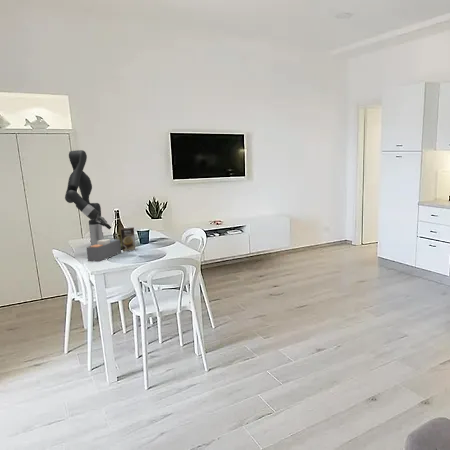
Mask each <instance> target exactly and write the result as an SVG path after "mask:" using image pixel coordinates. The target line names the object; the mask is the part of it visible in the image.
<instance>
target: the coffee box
mask: <svg viewBox="0 0 450 450" xmlns="http://www.w3.org/2000/svg"><path fill="white" fill-rule="evenodd" d="M120 234H121V249H122V252H131V251H132V252H133V251H136V249H137V247H136V239H135V236H136V235H135V227H121V228H120Z"/></svg>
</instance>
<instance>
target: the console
mask: <svg viewBox="0 0 450 450" xmlns="http://www.w3.org/2000/svg"><path fill="white" fill-rule="evenodd" d="M116 240H117V241H114V242H110V243H109V244H106V245H103V246H101V247H98V248H94V247H90V246H88V247H87V246H86V256H87V261H88V262H103V261H104V260H106V259H108V258H111V257H113V256H116V255H118V254H120V253H122V243H121V239H116ZM95 245H98V244H95ZM92 246H93V245H92Z"/></svg>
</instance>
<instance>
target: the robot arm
mask: <svg viewBox="0 0 450 450" xmlns="http://www.w3.org/2000/svg"><path fill="white" fill-rule="evenodd" d="M87 158H88V157H87V152H86V151H85V150H83V149H80V150H79V149H78V150H76V149H75V150H70V151H69V152H68V159H69V163H70V164H71V168H72V170H73V171H72V172H71V173H70V174H69V177H68V182H67V188H66V191H65V195H64V199H65V201H66V202H67V203H68V204H72V203H74V204H75V207H76V209H78V210H79V211H80V212H82V214H83V215H85V216H86V217H87V218H88V219H89V220H88V231H89V237H90V238H89V239H90V246H92V245H95V244H97V241H99V240H102V239H105V238H104V232H103V227H105V228H106V229H108V230H111V229H112V226H111V225H110V224H109V223H108V221H107V220H106V219H105V218H104V217H102V208H101V204H100V203H98V202H90V195H91V192H92V189H93V185H92V181H91V178H90V176H88V174H86V172H84V168H85V165H86V163H87ZM78 189H79V191H80V194H79V193H78Z"/></svg>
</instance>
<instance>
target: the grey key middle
mask: <svg viewBox="0 0 450 450" xmlns="http://www.w3.org/2000/svg"><path fill="white" fill-rule="evenodd" d="M109 243H110V239H108V238H107V239H106V238H104V239H102V240H99V241H97V244H98V245H106V244H109Z"/></svg>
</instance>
